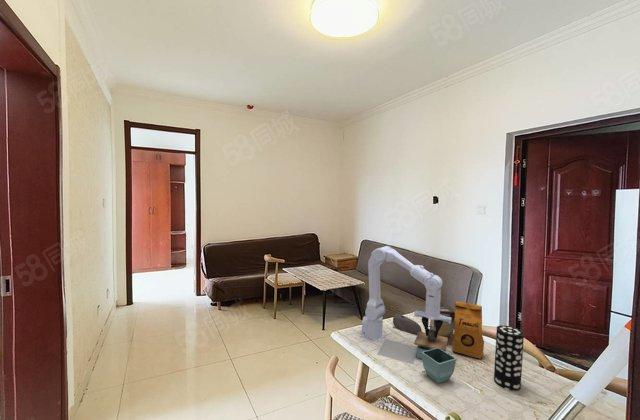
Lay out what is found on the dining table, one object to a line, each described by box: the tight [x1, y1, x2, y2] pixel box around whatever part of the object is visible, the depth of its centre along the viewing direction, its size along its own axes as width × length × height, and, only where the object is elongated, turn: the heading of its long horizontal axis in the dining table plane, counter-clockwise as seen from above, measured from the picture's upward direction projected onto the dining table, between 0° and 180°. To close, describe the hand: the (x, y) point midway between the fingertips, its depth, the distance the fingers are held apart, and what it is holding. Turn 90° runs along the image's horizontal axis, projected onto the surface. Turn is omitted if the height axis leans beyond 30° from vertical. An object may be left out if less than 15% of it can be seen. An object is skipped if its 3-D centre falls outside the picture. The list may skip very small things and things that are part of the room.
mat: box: [376, 338, 418, 365], centre depth 128 cm, size 15×15×1 cm
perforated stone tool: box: [392, 313, 423, 335], centre depth 147 cm, size 15×5×7 cm, turn 43°
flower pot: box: [421, 348, 457, 384], centre depth 109 cm, size 9×9×9 cm
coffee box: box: [429, 306, 455, 347], centre depth 136 cm, size 9×6×16 cm
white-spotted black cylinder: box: [493, 324, 525, 392], centre depth 107 cm, size 8×8×20 cm
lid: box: [413, 328, 448, 352], centre depth 124 cm, size 12×12×5 cm
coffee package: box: [451, 301, 485, 360], centre depth 128 cm, size 10×12×22 cm
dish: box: [416, 345, 431, 360], centre depth 124 cm, size 10×10×4 cm
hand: (431, 336), depth 124 cm, fingers closed on lid, 3 cm apart
